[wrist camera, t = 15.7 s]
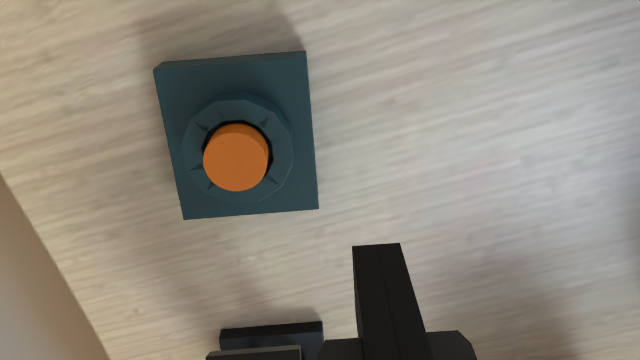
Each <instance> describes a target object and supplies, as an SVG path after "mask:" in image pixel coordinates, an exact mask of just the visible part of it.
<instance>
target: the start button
mask: <svg viewBox="0 0 640 360" xmlns="http://www.w3.org/2000/svg"><path fill="white" fill-rule="evenodd" d="M268 155H269V151H268V145H267V142H266V140H265V139H264V137H263V136H262V135H261V133H260V132H258V131H257V130H256V129H255V128H253V127H251V126H249V125H246V124H241V123H233V124H228V125H225V126H223V127H221V128H219V129H218V130H217V131H216V132H215V133H214V134H213V135H212V137H211V139H210V141H209V143H208V145H207V147H206V149H205V151H204V155H203V165H204V169H205V172H206V174H207V175H208V177H209V178H210V179H211V181H212V182H213V183H215V184H216V185H217V186H219V187H221V188H223V189H226V190H230V191H244V190H247V189H250V188H252V187H254V186H255V185H256V184H258V183H259V182H260V181H261V179H262V178H263V176H264V174H265V172H266V168H267V162H268Z"/></svg>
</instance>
